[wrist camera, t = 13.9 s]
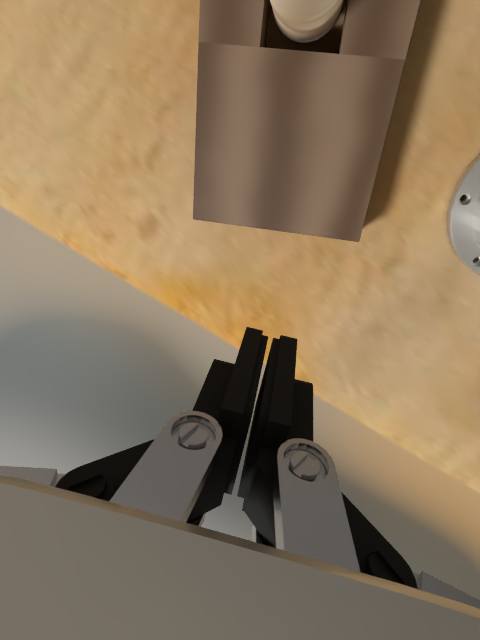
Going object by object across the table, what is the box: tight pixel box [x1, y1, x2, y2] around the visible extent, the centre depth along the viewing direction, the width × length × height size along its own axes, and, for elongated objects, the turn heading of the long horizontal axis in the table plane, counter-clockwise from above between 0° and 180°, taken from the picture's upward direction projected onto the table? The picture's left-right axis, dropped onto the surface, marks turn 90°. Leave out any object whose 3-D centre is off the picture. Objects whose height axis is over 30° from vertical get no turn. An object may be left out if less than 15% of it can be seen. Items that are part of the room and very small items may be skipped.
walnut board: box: [193, 0, 420, 242], centre depth 27 cm, size 14×22×3 cm, turn 175°
